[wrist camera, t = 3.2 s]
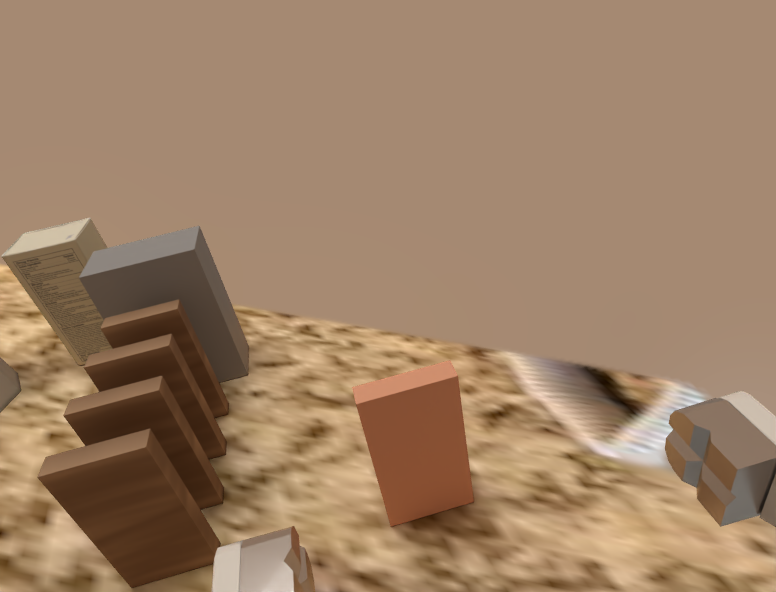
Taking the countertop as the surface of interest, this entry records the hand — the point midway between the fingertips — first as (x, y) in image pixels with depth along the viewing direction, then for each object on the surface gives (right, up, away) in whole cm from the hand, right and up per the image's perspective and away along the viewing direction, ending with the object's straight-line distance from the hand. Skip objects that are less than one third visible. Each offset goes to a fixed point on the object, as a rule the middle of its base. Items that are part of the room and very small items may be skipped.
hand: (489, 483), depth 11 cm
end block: (-18, -3, +34) cm, 39 cm away
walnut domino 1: (-17, -5, +30) cm, 34 cm away
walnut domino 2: (-16, -7, +26) cm, 32 cm away
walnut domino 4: (-14, -12, +20) cm, 27 cm away
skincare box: (-28, -1, +40) cm, 49 cm away
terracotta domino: (0, -8, +20) cm, 22 cm away
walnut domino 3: (-15, -10, +23) cm, 29 cm away
